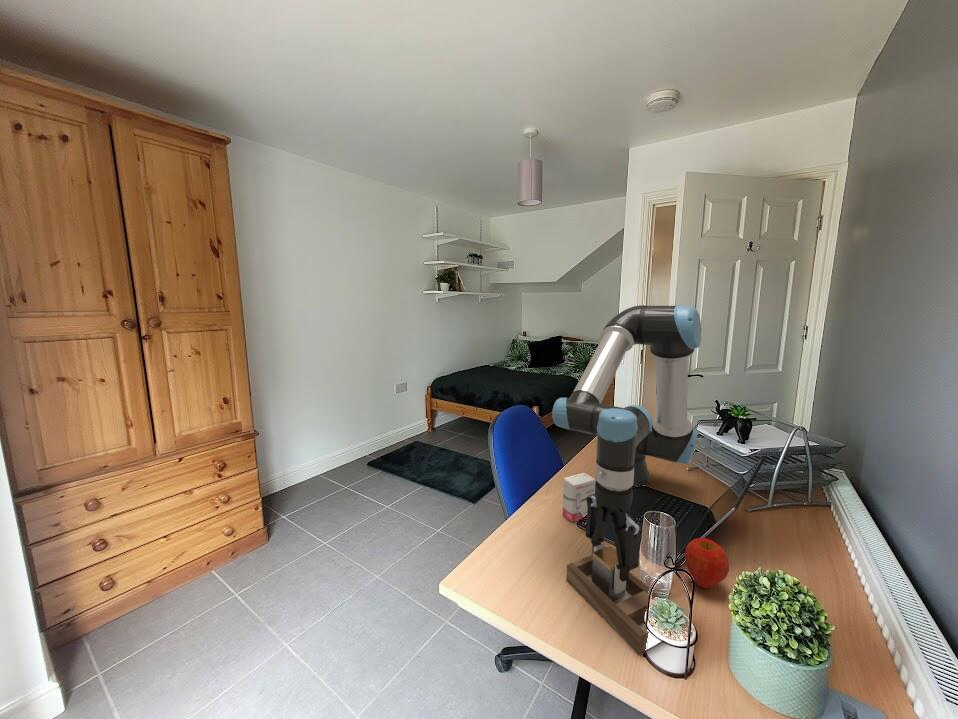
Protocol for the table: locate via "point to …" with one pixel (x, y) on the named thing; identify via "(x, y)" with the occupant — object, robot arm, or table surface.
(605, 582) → the square bit
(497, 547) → the table surface
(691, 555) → the apple
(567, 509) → the ink box
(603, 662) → the table surface
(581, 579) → the block
